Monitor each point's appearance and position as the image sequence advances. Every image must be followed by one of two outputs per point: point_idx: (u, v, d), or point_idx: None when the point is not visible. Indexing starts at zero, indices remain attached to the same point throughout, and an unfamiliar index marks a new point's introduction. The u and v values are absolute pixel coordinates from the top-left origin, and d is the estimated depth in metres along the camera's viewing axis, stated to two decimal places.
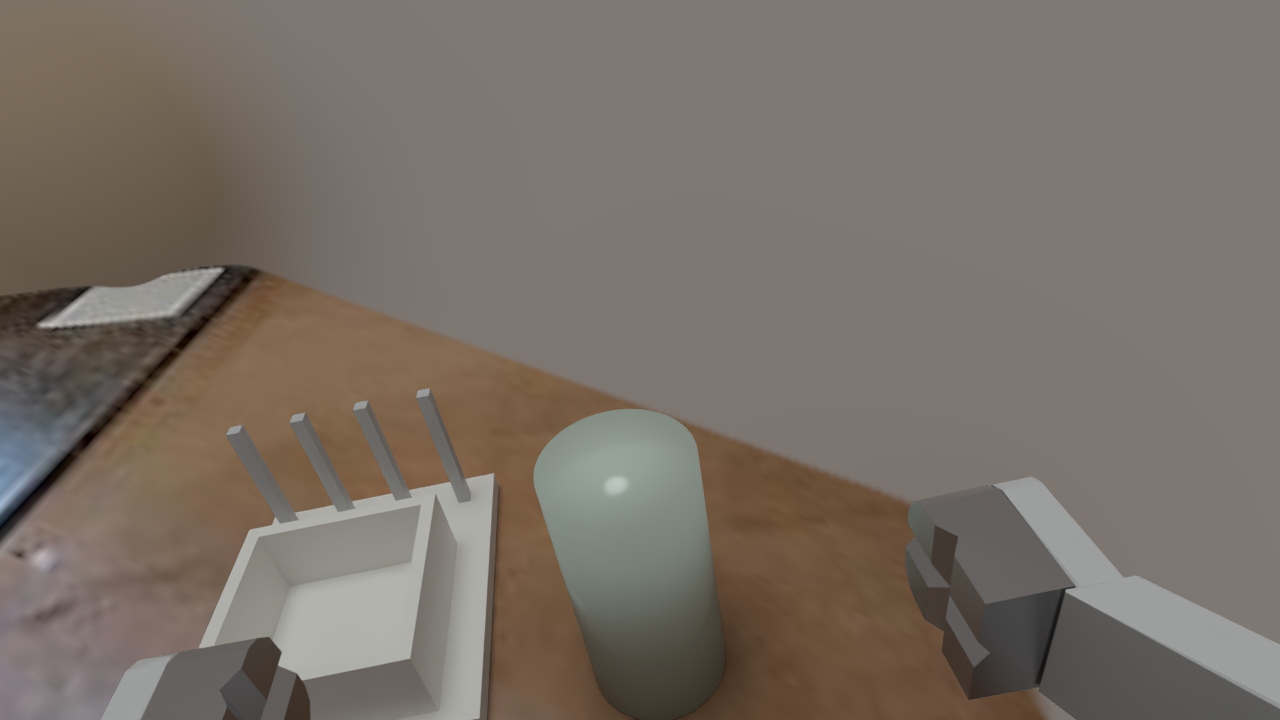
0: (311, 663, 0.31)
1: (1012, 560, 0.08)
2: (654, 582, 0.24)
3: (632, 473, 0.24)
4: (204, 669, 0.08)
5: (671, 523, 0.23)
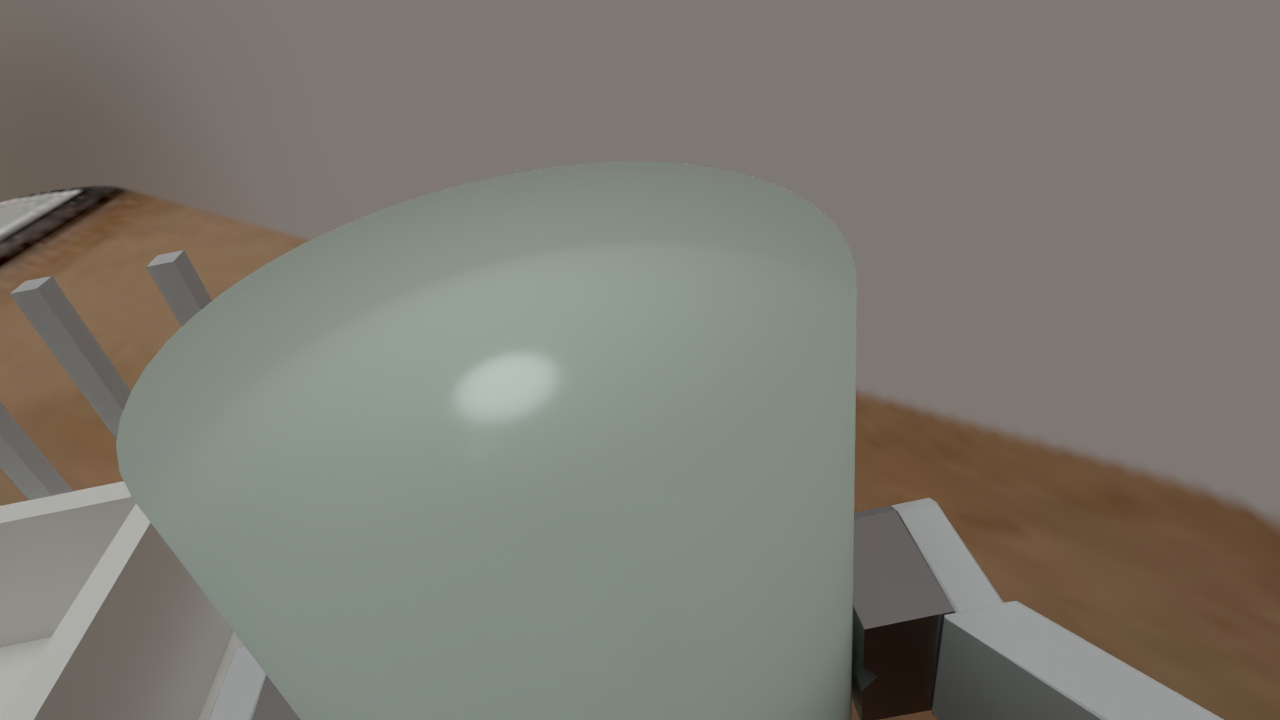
0: None
1: (896, 583, 0.08)
2: None
3: (561, 322, 0.05)
4: None
5: (751, 555, 0.04)
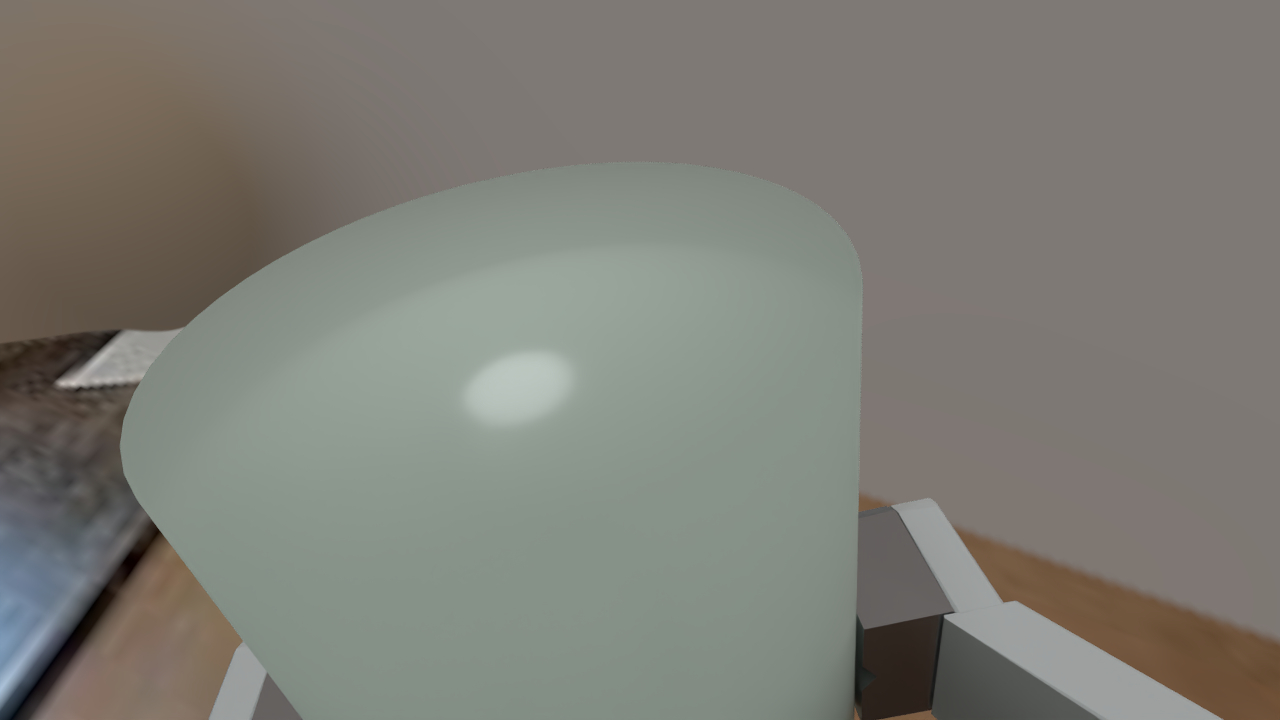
0: None
1: (895, 584, 0.08)
2: None
3: (567, 322, 0.05)
4: None
5: (757, 557, 0.04)
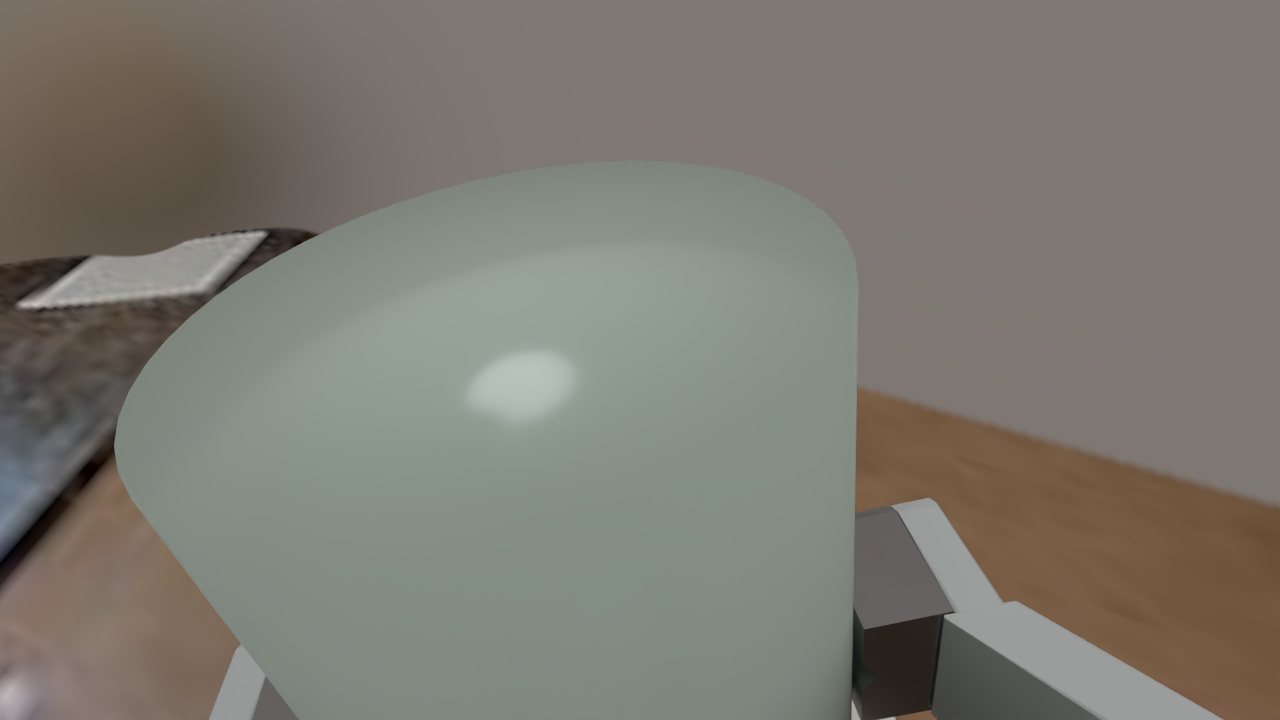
0: None
1: (895, 584, 0.08)
2: None
3: (561, 322, 0.05)
4: None
5: (752, 556, 0.04)
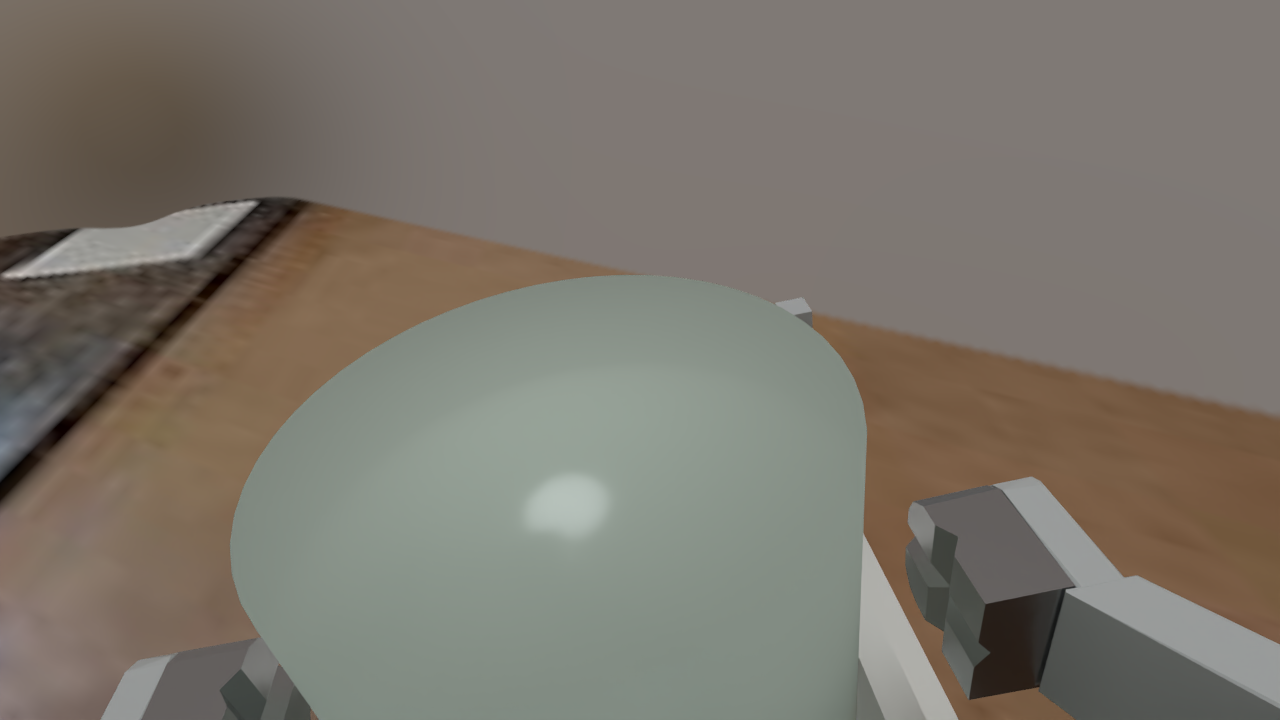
0: None
1: (1012, 559, 0.08)
2: None
3: (610, 460, 0.06)
4: (204, 669, 0.08)
5: (778, 681, 0.05)
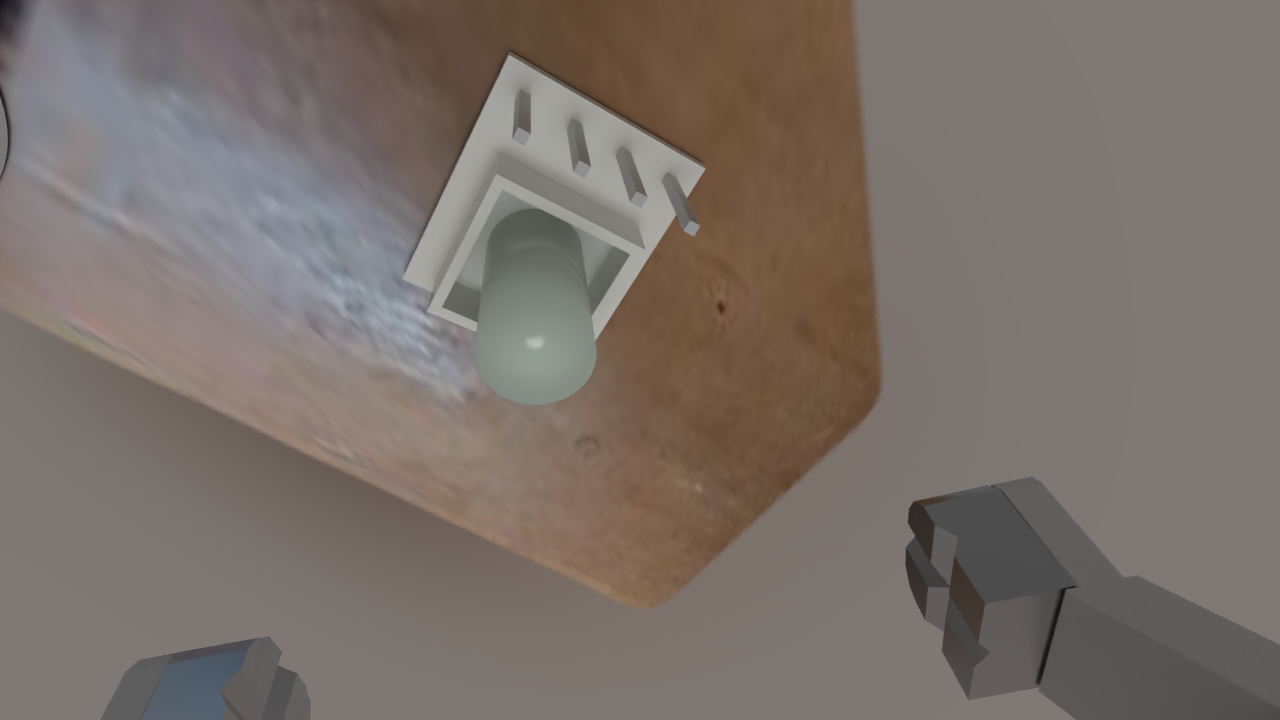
0: None
1: (1011, 560, 0.08)
2: None
3: (539, 371, 0.34)
4: (204, 669, 0.08)
5: None
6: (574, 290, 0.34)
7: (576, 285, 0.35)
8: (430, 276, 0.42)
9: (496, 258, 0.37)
